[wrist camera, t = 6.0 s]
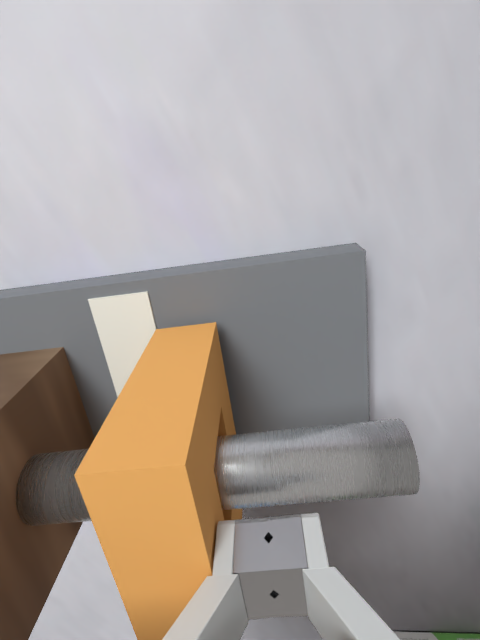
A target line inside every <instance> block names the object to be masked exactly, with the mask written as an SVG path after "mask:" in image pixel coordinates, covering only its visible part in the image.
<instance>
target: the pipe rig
mask: <svg viewBox="0 0 480 640" xmlns="http://www.w3.org/2000/svg"><path fill="white" fill-rule="evenodd" d="M213 322H216V324H217V330H218V335H219V341H220V346H221V352H222V358H223V363H224V369H225V375H226V380H227V386H228V391H229V397H230V403H231V408H232V414H233V420H234V425H235V431H236V434H235V435H225V436H218V437H217V445H216V454H215V462H214V474H215V479H216V484H217V488H218V493H219V498H220V502H221V507H222V510H230V509H242V508H254V507H267V506H279V505H291V504H303V503H315V502H327V501H339V500H352V499H364V498H376V497H388V496H400V495H412V494H417V492H418V490H419V480H420V478H419V467H418V461H417V456H416V452H415V448H414V445H413V441H412V439H411V436H410V433H409V431H408V429H407V427H406V425H405V424H404V423H403V421H402V420H400V419H389V420H379V421H369V394H368V345H367V297H366V251H365V250H364V249H363V248H362V247H360V246H359V245H358V244H357V243H352V244H344V245H337V246H329V247H322V248H314V249H307V250H299V251H292V252H284V253H277V254H269V255H262V256H254V257H246V258H239V259H231V260H224V261H216V262H209V263H201V264H194V265H186V266H179V267H171V268H164V269H156V270H149V271H141V272H134V273H126V274H119V275H111V276H103V277H96V278H88V279H81V280H73V281H66V282H58V283H51V284H43V285H36V286H28V287H21V288H13V289H6V290H0V640H28V638H29V636H30V634H31V632H32V630H33V628H34V626H35V623H36V621H37V619H38V617H39V615H40V613H41V611H42V608H43V606H44V604H45V602H46V600H47V598H48V596H49V593H50V591H51V589H52V587H53V585H54V583H55V581H56V578H57V576H58V574H59V572H60V570H61V568H62V565H63V563H64V561H65V559H66V557H67V555H68V553H69V550H70V548H71V546H72V544H73V542H74V540H75V538H76V535H77V533H78V531H79V529H80V527H81V525H82V523H83V522H84V521H92V520H91V518H90V515H89V513H88V510H87V507H86V505H85V502H84V500H83V497H82V494H81V492H80V489H79V487H78V484H77V482H76V479H75V476H74V474H75V473H76V471H77V469H78V467H79V466H80V464H81V462H82V460H83V458H84V457H85V455H86V453H87V451H88V450H89V448H90V446H91V444H92V442H93V441H94V439H95V437H96V435H97V433H98V432H99V430H100V428H101V426H102V425H103V423H104V421H105V419H106V417H107V416H108V414H109V412H110V410H111V409H112V407H113V405H114V403H115V401H116V400H117V398H118V396H119V394H120V393H121V391H122V389H123V387H124V385H125V384H126V382H127V380H128V378H129V377H130V375H131V373H132V371H133V369H134V368H135V366H136V364H137V362H138V361H139V359H140V357H141V355H142V353H143V352H144V350H145V348H146V346H147V345H148V343H149V341H150V339H151V337H152V336H153V334H154V332H155V330H156V329H163V328H171V327H180V326H188V325H196V324H205V323H213Z"/></svg>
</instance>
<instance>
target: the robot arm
mask: <svg viewBox="0 0 480 640" xmlns="http://www.w3.org/2000/svg"><path fill="white" fill-rule="evenodd" d="M289 616H308V617H309V619H310V621H311V622H312V624H313V625H314V627H315V628H316V630H317V631H318V633H319V634H320V636H321V637H322V639H323V640H400V639H399V638H398V637H397V635H396V634H395V633H394V632H393V631H392V630H391V629H390V628H389V627H388V625H387V624H386V623H385V622H384V621H383V620H382V619H381V618H380V617H379V615H378V614H377V613H376V612H375V611H374V610H373V609H372V608H371V606H370V605H369V604H368V603H367V602H366V601H365V600H364V599H363V598H362V596H361V595H360V594H359V593H358V592H357V591H356V590H355V589H354V588H353V586H352V585H351V584H350V583H349V582H348V581H347V580H346V579H345V578H344V576H343V575H342V574H341V573H340V572H339V571H338V570H337V569H336V567H329V562H328V557H327V552H326V547H325V542H324V536H323V531H322V526H321V521H320V516H319V514H318V513H309V514H301V516H300V514H295V515H285V516H275V517H267V518H256V519H238V520H226V521H219V522H218V525H217V531H216V541H215V552H214V562H213V573H212V576H207V577H206V578H205V580H204V581H203V583H202V584H201V586H200V587H199V588H198V590H197V591H196V593H195V594H194V595H193V597H192V598H191V600H190V601H189V602H188V604H187V605H186V607H185V608H184V610H183V611H182V612H181V614H180V615H179V617H178V618H177V619H176V621H175V622H174V624H173V625H172V626H171V628H170V629H169V631H168V632H167V634H166V635H165V636H164V638H163V639H162V640H240V639H241V637H242V635H243V633H244V630H245V628H246V626H247V624H248V620H251V619H261V618H271V617H289Z"/></svg>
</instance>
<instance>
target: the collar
mask: <svg viewBox="0 0 480 640" xmlns="http://www.w3.org/2000/svg"><path fill="white" fill-rule="evenodd" d="M235 434H236V431H235V425H234V420H233V414H232V408H231V403H230V397H229V391H228V386H227V380H226V375H225V369H224V363H223V358H222V352H221V346H220V341H219V335H218V330H217V324H216V322H213V323H205V324H196V325H188V326H180V327H171V328H163V329H156V330H155V332H154V334H153V336H152V337H151V339H150V341H149V343H148V345H147V346H146V348H145V350H144V352H143V353H142V355H141V357H140V359H139V361H138V362H137V364H136V366H135V368H134V369H133V371H132V373H131V375H130V377H129V378H128V380H127V382H126V384H125V385H124V387H123V389H122V391H121V393H120V394H119V396H118V398H117V400H116V401H115V403H114V405H113V407H112V409H111V410H110V412H109V414H108V416H107V417H106V419H105V421H104V423H103V425H102V426H101V428H100V430H99V432H98V433H97V435H96V437H95V439H94V441H93V442H92V444H91V446H90V448H89V450H88V451H87V453H86V455H85V457H84V458H83V460H82V462H81V464H80V466H79V467H78V469H77V471H76V473H75V474H74V476H75V479H76V482H77V484H78V487H79V489H80V492H81V494H82V497H83V500H84V502H85V505H86V507H87V510H88V513H89V515H90V518H91V520H92V523H93V525H94V528H95V531H96V533H97V536H98V538H99V541H100V544H101V546H102V549H103V551H104V554H105V556H106V559H107V562H108V564H109V567H110V569H111V572H112V575H113V577H114V580H115V582H116V585H117V587H118V590H119V593H120V595H121V598H122V600H123V603H124V606H125V608H126V611H127V613H128V616H129V618H130V621H131V624H132V626H133V629H134V631H135V634H136V637H137V639H138V640H162V639H163V638H164V636H165V635H166V634H167V632H168V631H169V629H170V628H171V626H172V625H173V624H174V622H175V621H176V619H177V618H178V617H179V615H180V614H181V612H182V611H183V610H184V608H185V607H186V605H187V604H188V602H189V601H190V600H191V598H192V597H193V595H194V594H195V593H196V591H197V590H198V588H199V587H200V586H201V584H202V583H203V581H204V580H205V578H206V577H207V576H212V573H213V562H214V552H215V541H216V531H217V525H218V522H219V521H226V520H238V519H242V509H230V510H222V507H221V502H220V498H219V493H218V488H217V484H216V479H215V474H214V462H215V454H216V445H217V437H218V436H225V435H235Z"/></svg>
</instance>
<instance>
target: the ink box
mask: <svg viewBox="0 0 480 640" xmlns="http://www.w3.org/2000/svg"><path fill="white" fill-rule="evenodd" d="M393 632H394V633H395V634H396V635H397V637H398V638H399V639H400V640H480V634H468V633H435V632H402V631H393Z"/></svg>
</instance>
